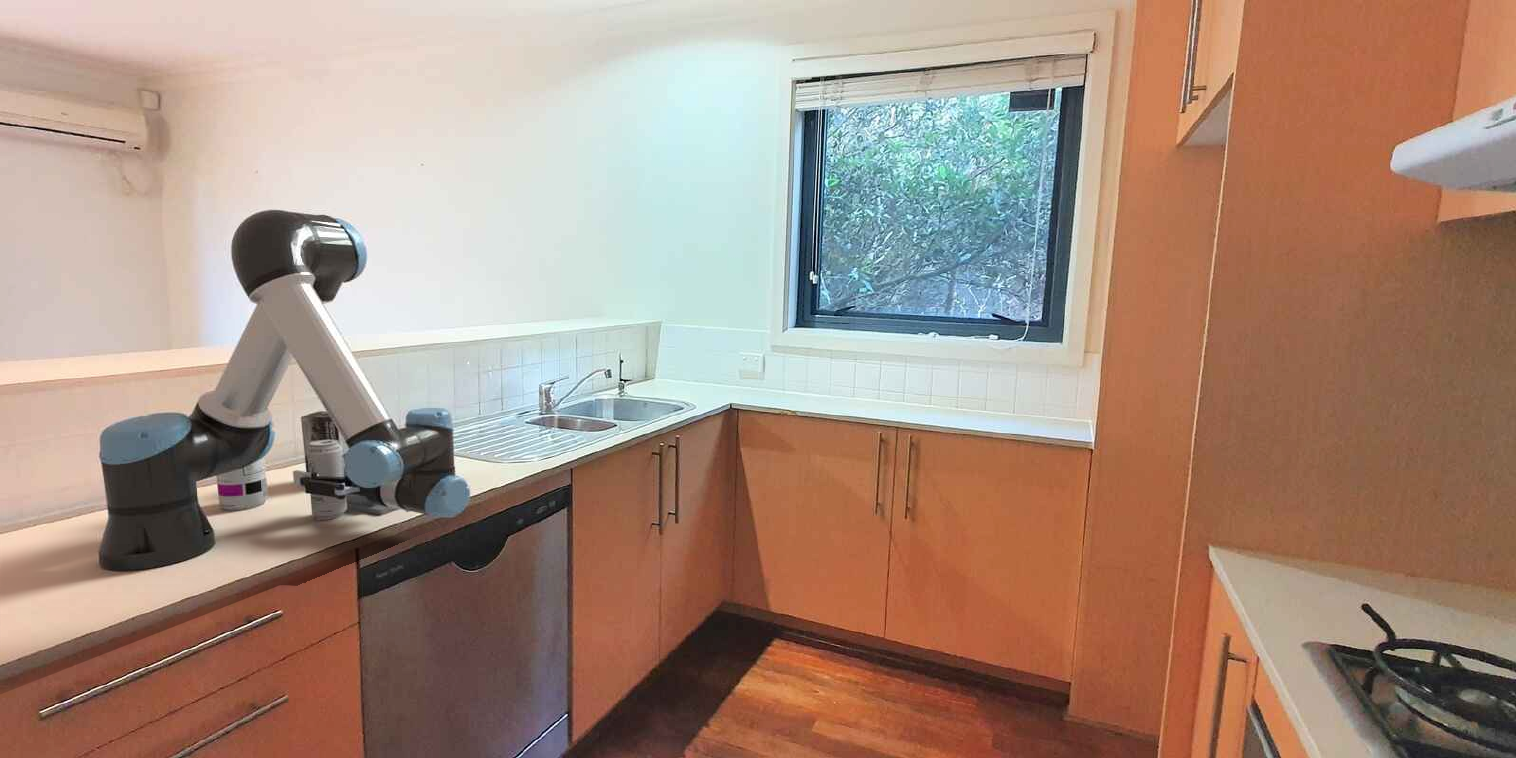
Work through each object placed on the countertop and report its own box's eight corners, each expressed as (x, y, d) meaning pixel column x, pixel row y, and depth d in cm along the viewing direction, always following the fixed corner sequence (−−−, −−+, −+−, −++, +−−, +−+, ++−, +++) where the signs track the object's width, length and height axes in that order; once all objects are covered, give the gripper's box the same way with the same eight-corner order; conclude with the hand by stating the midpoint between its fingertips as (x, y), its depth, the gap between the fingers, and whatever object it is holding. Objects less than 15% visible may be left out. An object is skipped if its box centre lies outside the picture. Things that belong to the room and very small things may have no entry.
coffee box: (361, 478, 165) (356, 411, 163) (342, 486, 159) (337, 416, 156) (325, 477, 166) (320, 410, 164) (305, 484, 160) (299, 415, 157)
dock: (381, 515, 140) (380, 498, 140) (337, 506, 145) (335, 490, 145) (456, 489, 158) (455, 474, 157) (414, 482, 163) (413, 467, 162)
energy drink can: (307, 515, 139) (301, 442, 137) (340, 508, 144) (335, 437, 142) (318, 522, 135) (312, 447, 133) (352, 515, 140) (346, 442, 138)
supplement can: (220, 514, 140) (213, 441, 138) (218, 503, 146) (211, 433, 144) (270, 506, 145) (263, 435, 143) (266, 496, 151) (259, 428, 149)
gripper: (349, 522, 123) (264, 504, 132) (438, 492, 140) (358, 478, 149) (346, 481, 122) (260, 466, 131) (436, 456, 139) (356, 444, 148)
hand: (313, 472), depth 140 cm, fingers open, 6 cm apart
